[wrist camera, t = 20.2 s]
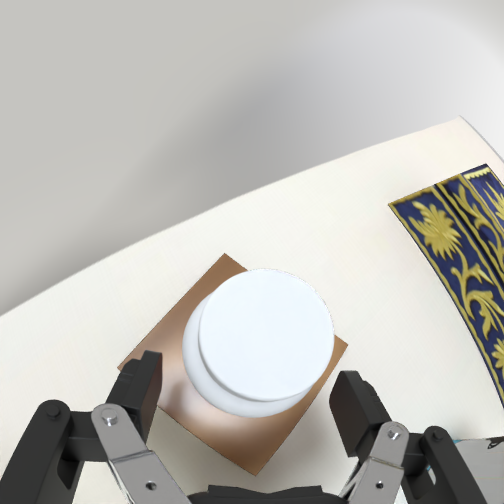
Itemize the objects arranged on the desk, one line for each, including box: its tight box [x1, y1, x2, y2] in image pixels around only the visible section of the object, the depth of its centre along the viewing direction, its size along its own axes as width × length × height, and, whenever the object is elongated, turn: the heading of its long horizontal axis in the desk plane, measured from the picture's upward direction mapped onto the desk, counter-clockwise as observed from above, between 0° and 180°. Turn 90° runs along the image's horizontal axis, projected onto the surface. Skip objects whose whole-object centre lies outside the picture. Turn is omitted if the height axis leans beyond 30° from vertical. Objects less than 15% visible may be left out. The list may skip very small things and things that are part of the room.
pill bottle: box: [182, 269, 334, 418], centre depth 14 cm, size 6×6×11 cm
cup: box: [427, 436, 504, 504], centre depth 9 cm, size 7×7×15 cm
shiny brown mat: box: [117, 253, 348, 476], centre depth 19 cm, size 12×12×1 cm
